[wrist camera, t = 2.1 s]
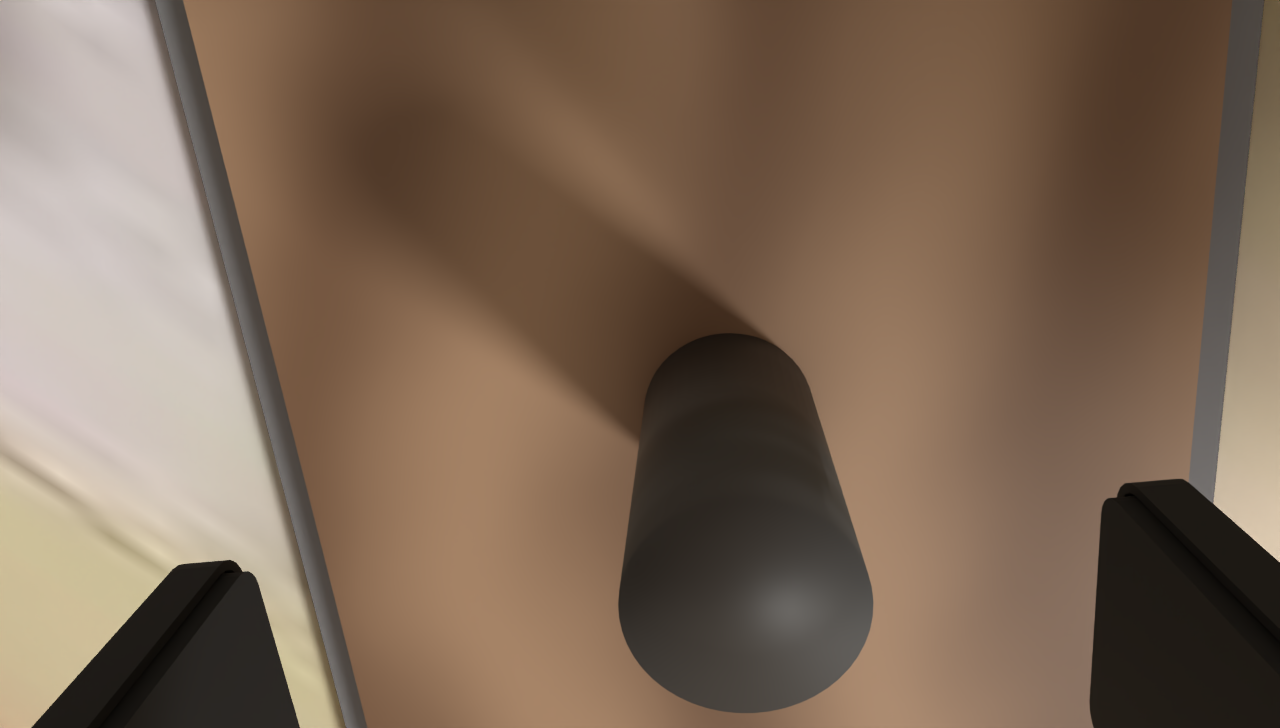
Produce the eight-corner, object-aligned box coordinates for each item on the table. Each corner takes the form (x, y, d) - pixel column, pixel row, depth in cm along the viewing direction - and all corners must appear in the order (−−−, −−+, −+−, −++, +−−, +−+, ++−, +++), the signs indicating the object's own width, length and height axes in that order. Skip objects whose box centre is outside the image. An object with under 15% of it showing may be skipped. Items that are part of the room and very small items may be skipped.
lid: (1209, -138, 14) (1644, -276, 8) (1141, 716, 20) (1366, 1064, 13) (210, -12, 16) (-137, -38, 9) (396, 754, 21) (260, 1085, 14)
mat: (1263, -213, 15) (1286, -222, 14) (1174, 733, 20) (1187, 753, 20) (156, -65, 16) (136, -69, 16) (370, 772, 22) (363, 791, 22)
